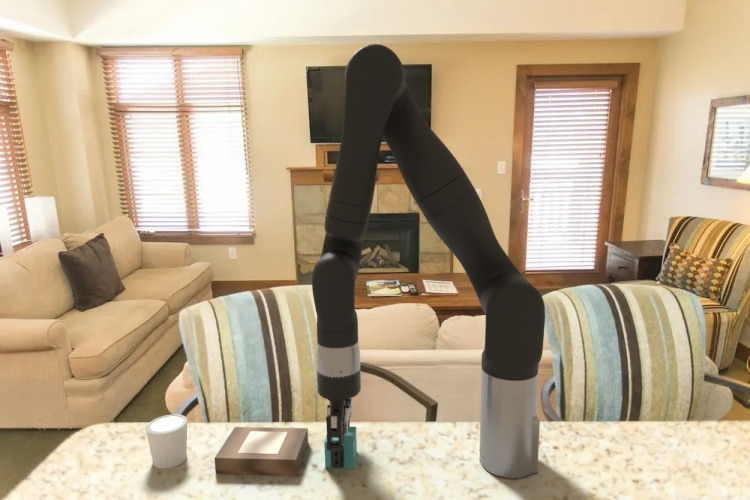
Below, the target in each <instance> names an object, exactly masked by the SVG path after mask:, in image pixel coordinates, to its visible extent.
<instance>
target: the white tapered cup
mask: <svg viewBox="0 0 750 500" xmlns="http://www.w3.org/2000/svg"><path fill="white" fill-rule="evenodd" d="M145 431H146V436H147V437H146V438H147V442H148V446H149V452H150V455H151V460H152V461H151V462H152V465H153V466H154V467H155V468H158V469H170V468H174V467H176V466H179V465H181V464H182V463H184V462H185V460H186V459H187V456H188V455H187V454H188V453H187V452H188V451H187V450H188V449H187V448H188V418H187V417H186V416H185V415H183V414H180V413H177V414H176V413H175V414H166V415H161V416H159V417H157V418H154V419H153V420H152V421H150V422H149V423H148V424H146V426H145Z"/></svg>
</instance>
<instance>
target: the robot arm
mask: <svg viewBox="0 0 750 500" xmlns="http://www.w3.org/2000/svg"><path fill="white" fill-rule="evenodd" d="M344 88H345V89H344V110H343V111H344V112H343V123H342V129H341V130H342V131H341V139H340V145H339V150H338V155H337V161H336V165H335V169H334V174H333V179H332V183H331V188H330V193H329V198H328V201H327V208H326V213H325V218H324V231H325V235H324V240H323V245H322V250H321V254H320V258H319V259H318V260H317V262H315V265H314V267H313V270H312V273H311V288H312V297H313V303H314V307H315V312H316V343H317V345H316V352H315V353H316V354H315V355H316V357H315V359H316V383H317V393H318V395H319V396H320V397H321V398H322V399H325V400H327V401H329V402H328V404H327V406H326V416H325V421H326V435H327V451H330V453H331V467H332V468H331V469H344V468H343V467H344V446H345V443H344V439H345V434H346V433H347V432H348V427H351V425H350V422H351V418H352V412H353V398H355V397H357V396H358V395H359V394H360V393H361V391H362V389H361V385H362V383H361V381H362V379H361V377H362V376H361V350H360V345H359V319H358V314H357V312H356V311H357V310H355V306H356V304H355V302H356V301H355V300H356V298H355V296H356V295H355V290H356V289H355V288H356V286H355V285H356V280H357V278H358V274H359V271H360V263H361V260H362V259H361V257H362V250H363V243H364V237H365V235H366V232H367V230H368V229H367V228H368V223H369V219H370V215H371V211H372V207H373V200H374V194H375V188H376V181H377V173H378V163H379V158H380V152H381V151H380V150H381V145H382V140H384V141H385V143H386V144H387V146H388V148H389V150H390V152H391V154H392V156H393V159H394V161H395V163H396V166H397V168H398V169H399V172H400V174H401V177H402V178H403V181H404V183H405V185H406V187H407V189H408V190H409V193H410V195H411V196H412V198H413V200H414V202H415V203H416V204H417V206H418V208H419V210H420V212H421V213H422V214H423V216H424V217H425V219H426V221H427V223H428V224H429V225H430V227H431V228H432V229H433V231H434V232H435V234H436V235H437V236H438V238H439V239H440V240H441V241H442V242H443V244H444V245H445V246H446V247H447V248H448V250H449V251H450V252H451V253H452V254H453V255H454V256H455V258H456V259H457V260H458V261H459V263H460V264H461V266H462V268H463V270H464V271H465V274H466V276H467V277H468V279H469V282H470V283H471V286H472V288H473V289H474V292H475V294H476V297H477V298H478V301H479V304H480V306H481V309H482V311H483V313H484V315H485V327H484V328H485V330H484V331H485V333H484V348H483V351H482V352H481V366H480V367H481V371H480V372H481V373H480V376H481V377H480V415H479V416H480V419H479V421H480V422H479V423H480V428H479V463H480V465H481V466H482V467H483V469H484V470H486V471H487V472H489V473H491V474H492V475H495V476H497V477H500V478H504V479H505V478H506V479H521V478H524V477H527V476H529V475H532V474H538V473H539V453H540V451H539V450H540V449H539V447H540V430H541V427H540V426H541V423H540V422H541V421H540V418H539V417H538V415H537V409H538V408H537V407H538V406H537V405H538V404H537V403H538V383H539V382H538V381H539V365H540V362H541V361H542V356H543V353H544V352H543V351H544V341H545V340H544V339H545V338H544V337H545V323H546V306H545V301H544V298H543V295H542V294H541V292H540V291H539V290H538V289H537V288H536V287H535V285H533V284H532V283H531V282H530V281H529V279H527V278H526V277H525V276H524V274H522V273H521V272H520V270H519V269H518V268H517V267H516V265H515V264H514V263H513V261H512V260H511V259H510V257H509V256H508V255H507V254H506V252H505V250H504V249H503V247H502V246H501V244H500V242H499V241H498V239H497V237H496V234H495V233H494V229H493V227H492V225H491V221H490V219H489V216H488V214H487V211H486V208H485V206H484V205H483V201H482V200H481V198H480V196H479V194H478V192H477V190H476V188H475V186H474V185H473V184H472V181H471V180H470V178H469V176H468V175H467V173H466V171H465V170H464V168H463V167H462V166H461V164H460V163H459V161H458V159H457V158H456V157H455V156H454V155H453V153H452V152H451V151H450V149H449V148H448V147H447V146H446V144H445V143H444V142H443V141H442V140H441V139H440V138H439V136H438V135H437V134H436V133H435V132H434V131H433V129H432V128H431V127H430V126H429V124H428V122H427V121H426V120H425V118H424V116H423V115H422V113H421V111H420V109H419V107H418V105H417V103H416V101H415V100H414V98H413V95H412V92H411V91H410V88H409V86H408V84H407V81H406V75H405V69H404V66H403V63H402V61H401V60H400V58H399V56H398V55H397V54H396V53H395V52H394V51H393V50H392V49H391V48H390V47H388V46H386V45H383V44H378V43H372V44H367V45H364V46H362V47H360V48H359V49H357V50H356V51H355V52H354V53H353V54H352V55H351V57H350V58H349V60H348V61H347V64H346V66H345V71H344ZM342 427H343V428H342ZM333 438H339V441H337V440H333Z"/></svg>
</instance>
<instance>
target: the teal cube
mask: <svg viewBox="0 0 750 500" xmlns="http://www.w3.org/2000/svg"><path fill="white" fill-rule="evenodd" d="M342 428H343V427H342ZM357 438H358V437H357V426H350V427H348V432H347V433H346V434H345V439H344V443H345V446H344V467H343V468H342V469H354V468H355V465H356V459H357V454H358V453H357V452H358V446H357ZM333 440H337V441H339V438H333ZM323 444H324V445H323V446H324V464H325V465H324V466H325V467H324V468H325V469H333V468H332V467H331V453H330V451H327V434H326V435H325V438H324V441H323Z"/></svg>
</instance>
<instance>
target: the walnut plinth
mask: <svg viewBox="0 0 750 500" xmlns="http://www.w3.org/2000/svg"><path fill="white" fill-rule="evenodd" d="M308 445H309V429H308V427H307V428H306V427H263V426H262V427H261V426H260V427H259V426H258V427H257V426H256V427H255V426H254V427H249V426H235V427H234V428H233V429H232V431H231V432H230V434H229V435H228V437H227V439H226V440H225V441H224V443H223V445H222V446H221V447H220V448H219V450H218V452H217V453H216V455H215V456H214V470H215V475H238V476H239V475H240V476H243V475H244V476H245V475H246V476H247V475H248V476H279V477H280V476H282V477H283V476H284V477H285V476H288V477H296V476H298V473H299V470H300V467H301V464H302V462H303V459H304V456H305V453H306V450H307V448H308Z"/></svg>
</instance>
